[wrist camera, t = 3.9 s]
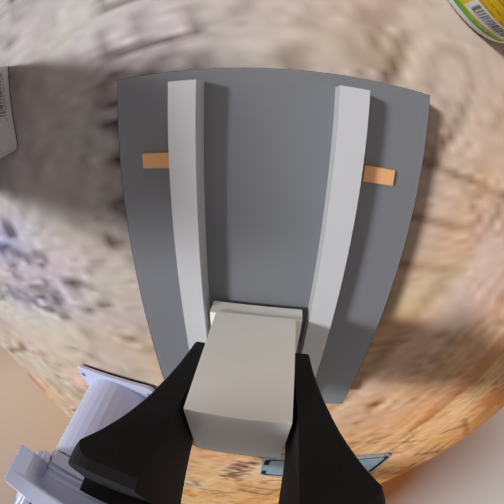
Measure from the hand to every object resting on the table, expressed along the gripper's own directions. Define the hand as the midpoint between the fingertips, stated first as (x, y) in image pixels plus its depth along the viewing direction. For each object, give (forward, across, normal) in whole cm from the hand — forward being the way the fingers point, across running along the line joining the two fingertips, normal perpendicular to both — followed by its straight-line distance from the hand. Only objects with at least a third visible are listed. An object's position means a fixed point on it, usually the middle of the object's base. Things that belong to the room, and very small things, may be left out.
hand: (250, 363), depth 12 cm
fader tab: (+2, 0, 0) cm, 2 cm away
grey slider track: (+4, 0, -2) cm, 5 cm away
